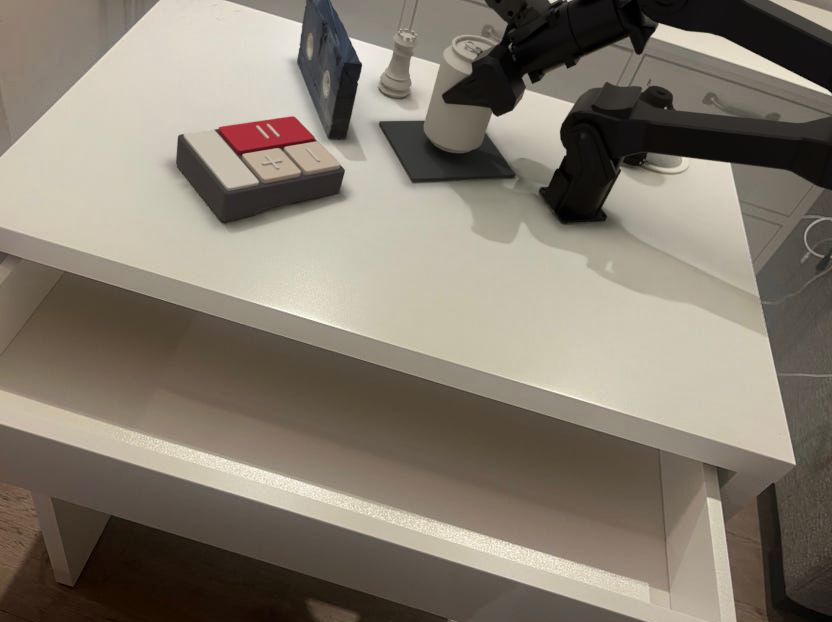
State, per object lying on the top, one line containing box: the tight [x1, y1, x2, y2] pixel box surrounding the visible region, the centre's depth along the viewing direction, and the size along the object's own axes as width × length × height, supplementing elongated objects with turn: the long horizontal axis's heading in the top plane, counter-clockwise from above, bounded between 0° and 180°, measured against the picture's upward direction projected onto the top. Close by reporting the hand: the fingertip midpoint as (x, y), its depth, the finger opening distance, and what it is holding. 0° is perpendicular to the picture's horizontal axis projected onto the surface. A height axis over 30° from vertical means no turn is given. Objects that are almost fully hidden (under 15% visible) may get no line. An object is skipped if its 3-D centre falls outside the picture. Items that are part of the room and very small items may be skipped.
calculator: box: [175, 115, 346, 222], centre depth 83 cm, size 11×4×15 cm
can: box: [424, 34, 498, 153], centre depth 90 cm, size 8×8×12 cm
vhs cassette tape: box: [296, 0, 363, 139], centre depth 95 cm, size 18×3×10 cm, turn 13°
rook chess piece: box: [377, 27, 419, 99], centre depth 100 cm, size 4×4×8 cm
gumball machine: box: [622, 78, 676, 167], centre depth 99 cm, size 7×6×10 cm
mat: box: [378, 120, 517, 183], centre depth 95 cm, size 14×12×1 cm
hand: (455, 86), depth 90 cm, fingers closed on can, 7 cm apart
